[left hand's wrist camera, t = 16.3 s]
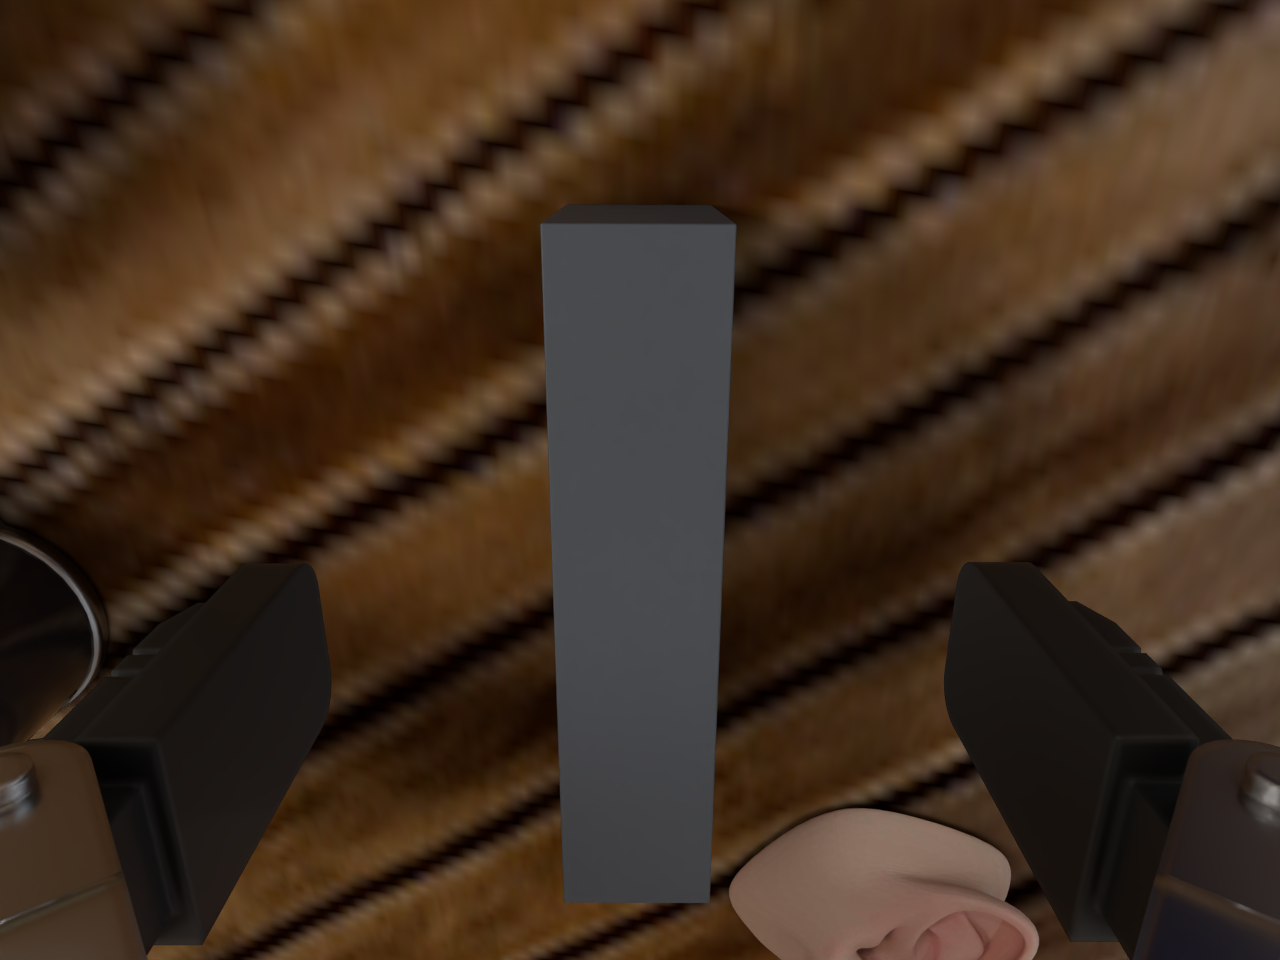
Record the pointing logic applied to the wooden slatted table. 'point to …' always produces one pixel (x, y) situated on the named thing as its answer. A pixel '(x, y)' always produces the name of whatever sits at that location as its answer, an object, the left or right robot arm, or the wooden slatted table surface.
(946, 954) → the anatomical model
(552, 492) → the bar
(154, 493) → the wooden slatted table surface
